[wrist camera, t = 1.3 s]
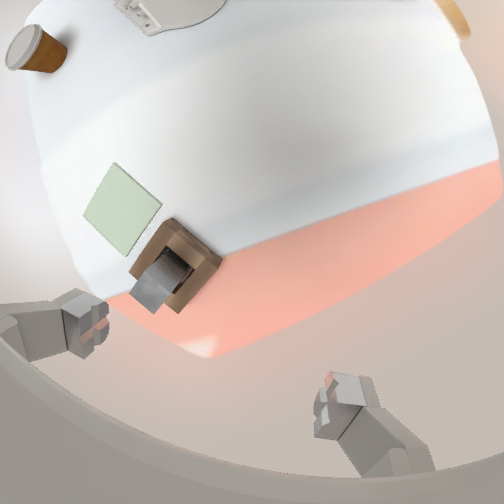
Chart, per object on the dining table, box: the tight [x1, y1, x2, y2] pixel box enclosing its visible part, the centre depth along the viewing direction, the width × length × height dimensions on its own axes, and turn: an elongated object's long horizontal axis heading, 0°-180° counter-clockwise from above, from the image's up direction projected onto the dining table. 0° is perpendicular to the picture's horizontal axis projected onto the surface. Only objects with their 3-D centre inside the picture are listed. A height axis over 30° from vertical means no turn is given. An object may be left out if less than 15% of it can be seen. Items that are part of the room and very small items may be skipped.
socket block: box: [129, 218, 222, 314], centre depth 40 cm, size 10×10×4 cm
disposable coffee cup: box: [5, 24, 67, 73], centre depth 26 cm, size 10×10×12 cm
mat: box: [83, 163, 162, 257], centre depth 40 cm, size 11×11×1 cm
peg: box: [129, 249, 191, 314], centre depth 36 cm, size 4×4×12 cm
